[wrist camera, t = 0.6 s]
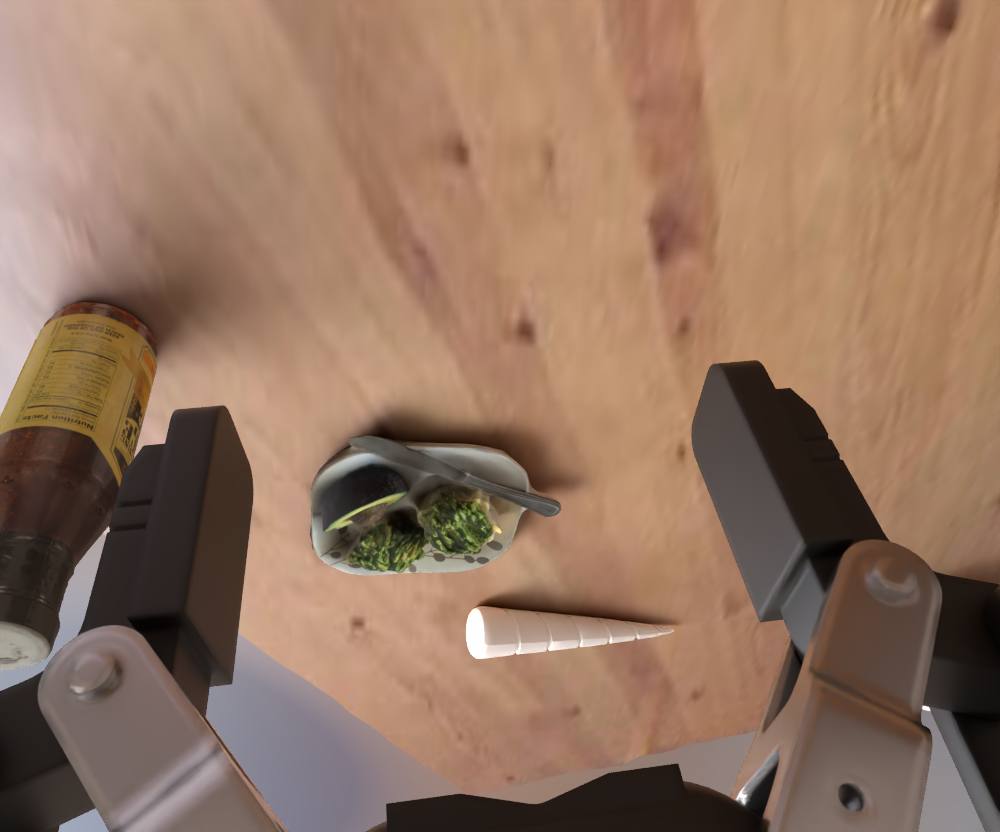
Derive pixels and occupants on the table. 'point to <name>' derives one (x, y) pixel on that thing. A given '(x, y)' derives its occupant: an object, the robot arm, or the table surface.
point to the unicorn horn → (545, 631)
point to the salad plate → (418, 506)
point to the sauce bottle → (65, 462)
